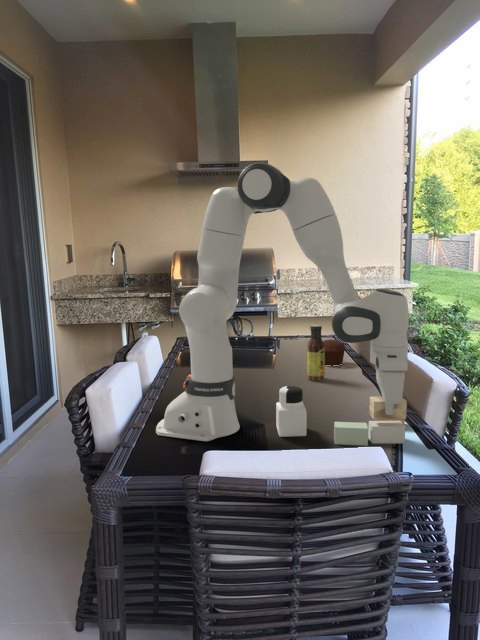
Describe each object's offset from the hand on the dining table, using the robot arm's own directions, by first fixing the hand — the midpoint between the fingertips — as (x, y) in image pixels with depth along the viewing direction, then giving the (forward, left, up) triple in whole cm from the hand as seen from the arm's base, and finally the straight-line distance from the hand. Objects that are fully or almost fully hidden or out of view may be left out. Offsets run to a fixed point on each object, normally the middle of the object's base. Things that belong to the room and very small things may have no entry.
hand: (387, 410), depth 124 cm
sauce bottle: (-18, +55, -8) cm, 58 cm away
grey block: (0, 0, -8) cm, 8 cm away
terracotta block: (+2, +11, -8) cm, 14 cm away
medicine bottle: (-24, +3, -8) cm, 26 cm away
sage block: (-9, -2, -8) cm, 12 cm away
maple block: (0, 0, -2) cm, 2 cm away
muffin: (-12, +79, -8) cm, 80 cm away
